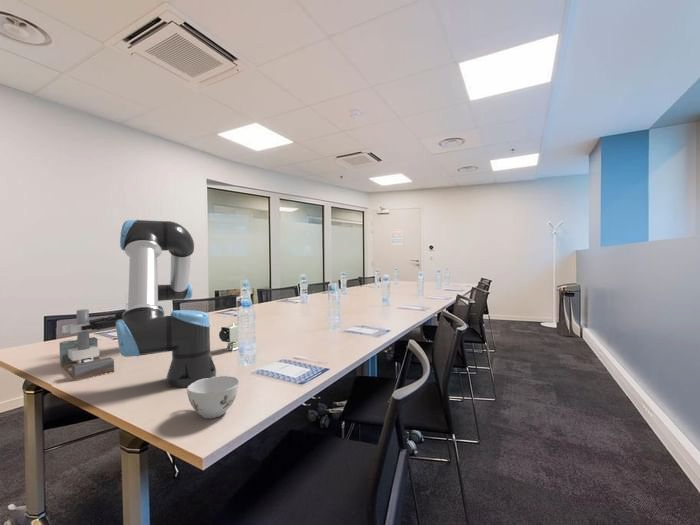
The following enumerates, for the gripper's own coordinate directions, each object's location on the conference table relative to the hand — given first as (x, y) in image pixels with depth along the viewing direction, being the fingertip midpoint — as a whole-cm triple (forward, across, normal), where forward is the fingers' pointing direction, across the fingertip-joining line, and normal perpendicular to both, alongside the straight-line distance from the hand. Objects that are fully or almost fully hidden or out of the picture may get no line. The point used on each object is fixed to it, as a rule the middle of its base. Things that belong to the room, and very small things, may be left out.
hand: (66, 329), depth 120 cm
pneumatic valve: (-42, -40, -16) cm, 60 cm away
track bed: (-4, -3, -16) cm, 16 cm away
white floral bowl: (+10, -76, -16) cm, 78 cm away
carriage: (-5, 0, -13) cm, 14 cm away
